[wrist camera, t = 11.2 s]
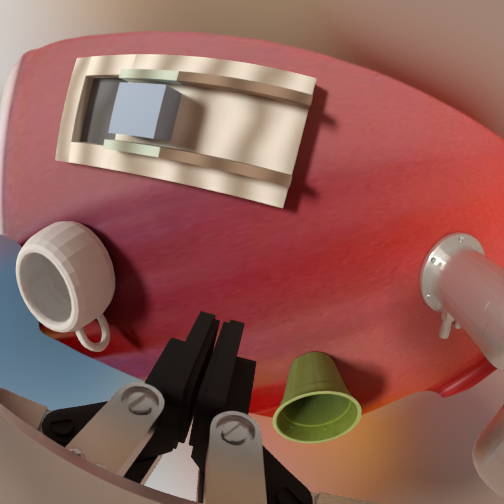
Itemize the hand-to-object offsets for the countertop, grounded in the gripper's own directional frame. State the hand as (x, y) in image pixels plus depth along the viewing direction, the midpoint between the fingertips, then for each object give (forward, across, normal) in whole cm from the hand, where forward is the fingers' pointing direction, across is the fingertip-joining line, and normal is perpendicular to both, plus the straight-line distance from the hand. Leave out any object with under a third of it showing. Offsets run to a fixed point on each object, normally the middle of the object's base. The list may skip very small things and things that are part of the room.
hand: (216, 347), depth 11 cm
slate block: (+25, +16, -10) cm, 31 cm away
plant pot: (+27, -14, +22) cm, 38 cm away
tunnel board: (+27, +15, -10) cm, 32 cm away
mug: (+27, +26, +17) cm, 41 cm away
